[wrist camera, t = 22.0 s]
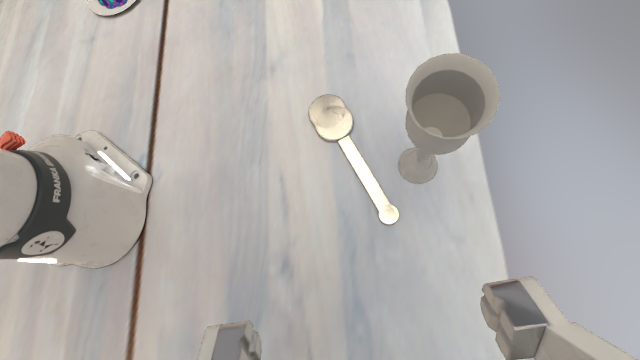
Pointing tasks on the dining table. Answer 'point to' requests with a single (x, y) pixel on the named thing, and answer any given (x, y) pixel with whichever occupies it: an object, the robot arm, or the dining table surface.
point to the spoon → (349, 149)
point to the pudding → (109, 6)
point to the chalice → (445, 110)
